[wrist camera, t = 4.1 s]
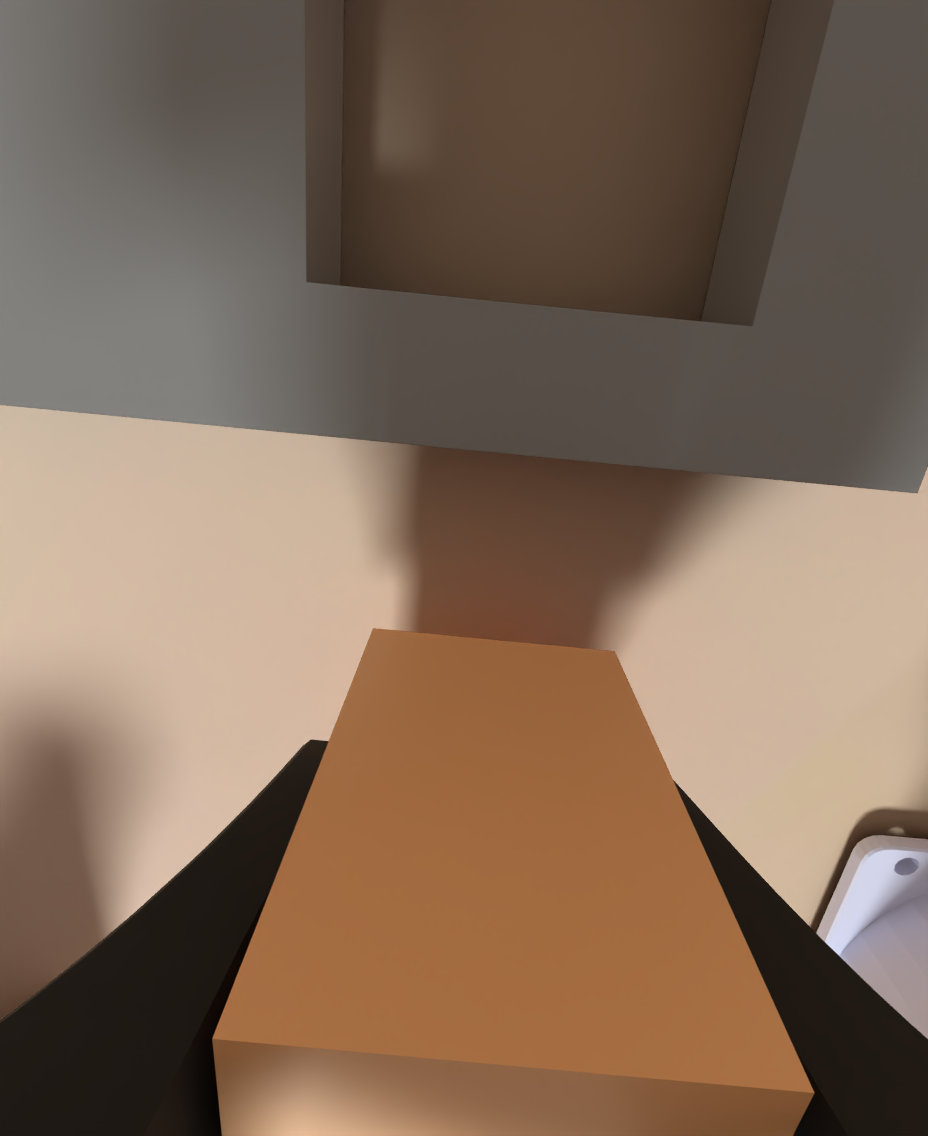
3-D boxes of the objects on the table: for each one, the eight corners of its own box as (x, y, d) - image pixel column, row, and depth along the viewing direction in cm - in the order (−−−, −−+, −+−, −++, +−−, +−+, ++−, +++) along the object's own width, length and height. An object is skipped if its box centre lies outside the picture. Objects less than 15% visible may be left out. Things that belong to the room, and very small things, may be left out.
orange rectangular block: (614, 651, 9) (814, 1093, 4) (575, 836, 11) (679, 1359, 5) (372, 628, 9) (212, 1038, 4) (365, 817, 11) (240, 1322, 5)
